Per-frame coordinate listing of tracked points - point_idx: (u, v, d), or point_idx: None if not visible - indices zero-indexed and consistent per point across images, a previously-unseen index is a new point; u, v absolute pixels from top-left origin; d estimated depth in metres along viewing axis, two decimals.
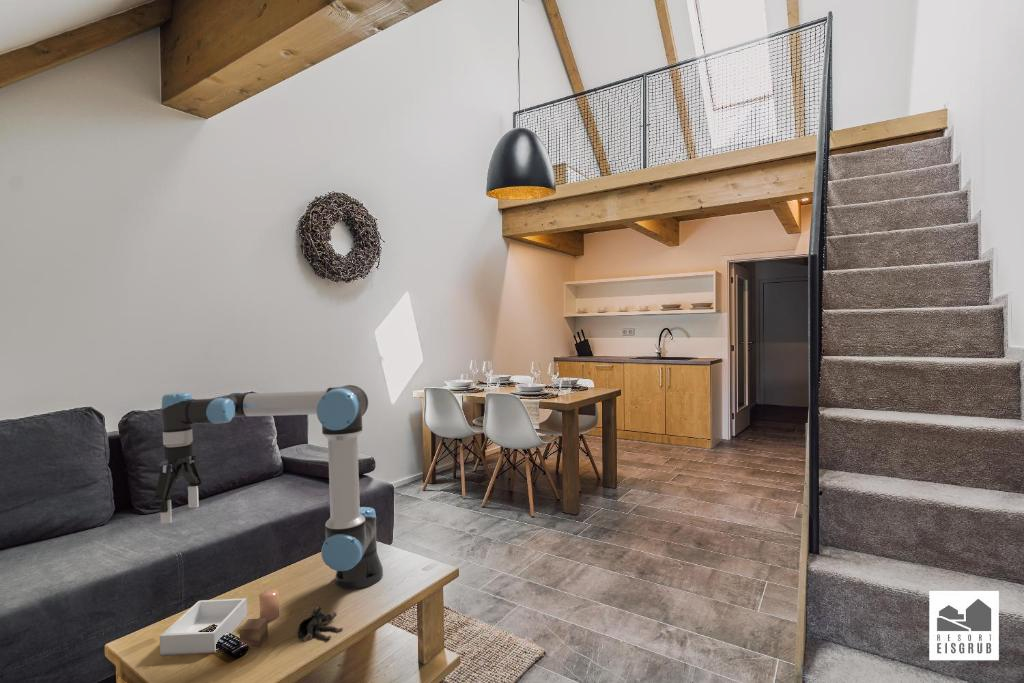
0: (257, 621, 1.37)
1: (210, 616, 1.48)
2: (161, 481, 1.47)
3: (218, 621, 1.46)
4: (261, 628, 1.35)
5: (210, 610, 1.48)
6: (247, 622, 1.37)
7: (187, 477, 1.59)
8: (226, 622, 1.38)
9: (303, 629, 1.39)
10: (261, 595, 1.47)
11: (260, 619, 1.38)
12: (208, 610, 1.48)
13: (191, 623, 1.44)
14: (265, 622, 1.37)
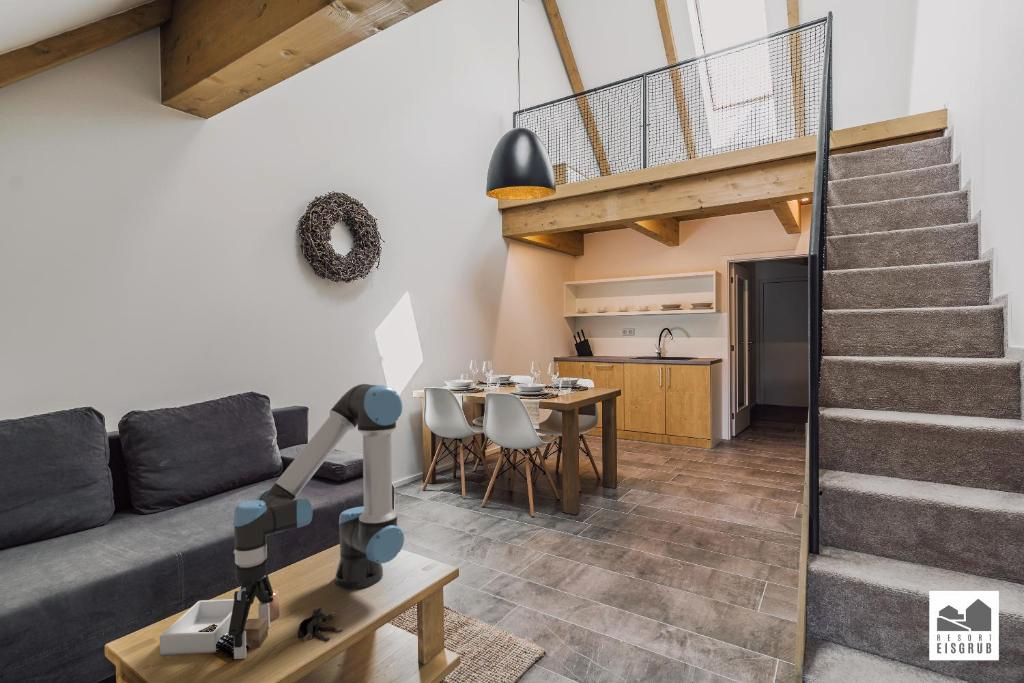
0: (257, 621, 1.37)
1: (210, 616, 1.48)
2: (236, 611, 1.28)
3: (218, 621, 1.46)
4: (261, 628, 1.35)
5: (210, 610, 1.48)
6: (246, 622, 1.37)
7: (259, 595, 1.40)
8: (226, 622, 1.38)
9: (303, 629, 1.39)
10: None
11: (260, 619, 1.38)
12: (208, 610, 1.48)
13: (191, 623, 1.44)
14: (265, 622, 1.37)
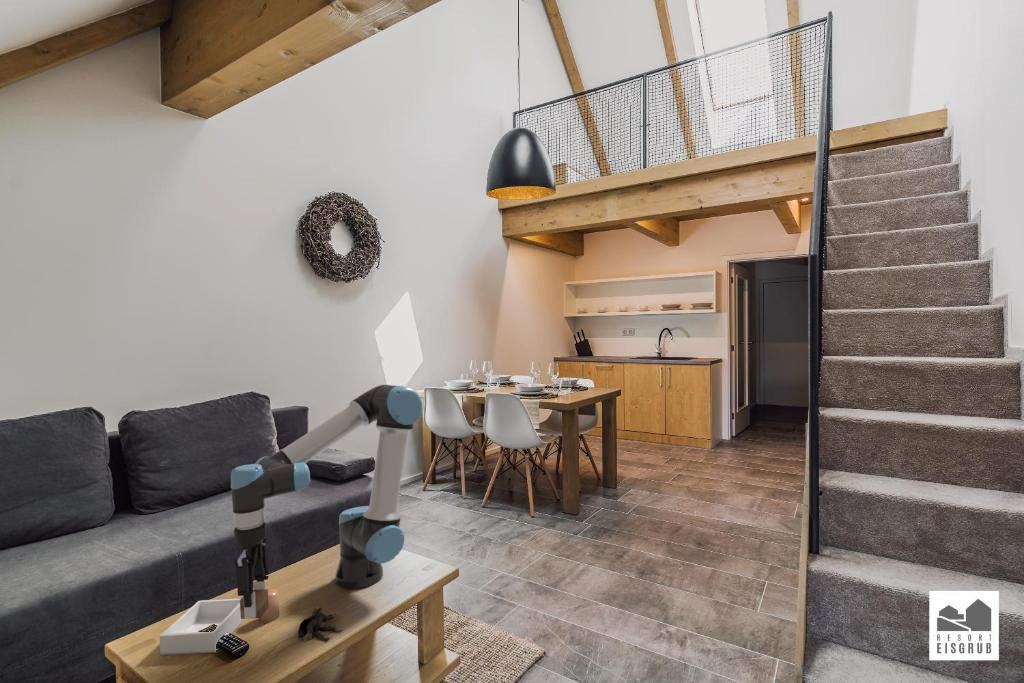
0: (258, 592, 1.37)
1: (210, 616, 1.48)
2: (240, 576, 1.30)
3: (218, 621, 1.46)
4: (261, 598, 1.35)
5: (210, 610, 1.48)
6: None
7: (256, 565, 1.38)
8: (226, 622, 1.38)
9: (303, 628, 1.39)
10: None
11: (261, 590, 1.38)
12: (208, 610, 1.48)
13: (191, 623, 1.44)
14: (265, 593, 1.38)
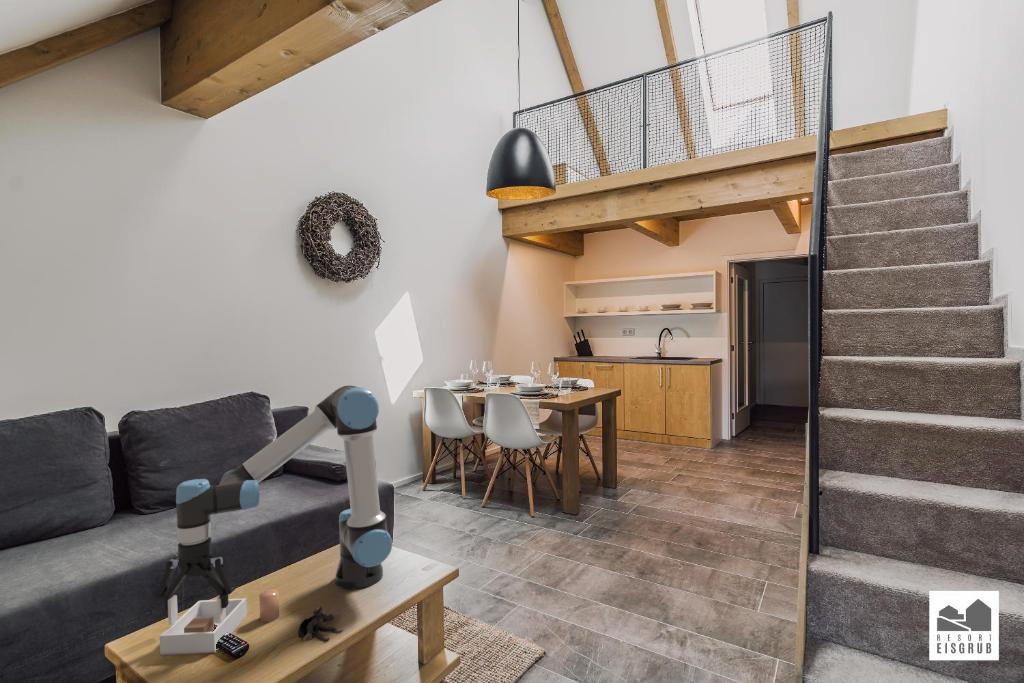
0: (202, 623, 1.36)
1: (210, 616, 1.48)
2: None
3: None
4: (189, 630, 1.34)
5: (210, 610, 1.48)
6: (206, 617, 1.39)
7: None
8: (226, 622, 1.38)
9: (304, 628, 1.39)
10: (261, 595, 1.47)
11: (203, 623, 1.35)
12: (208, 610, 1.48)
13: None
14: (199, 629, 1.34)
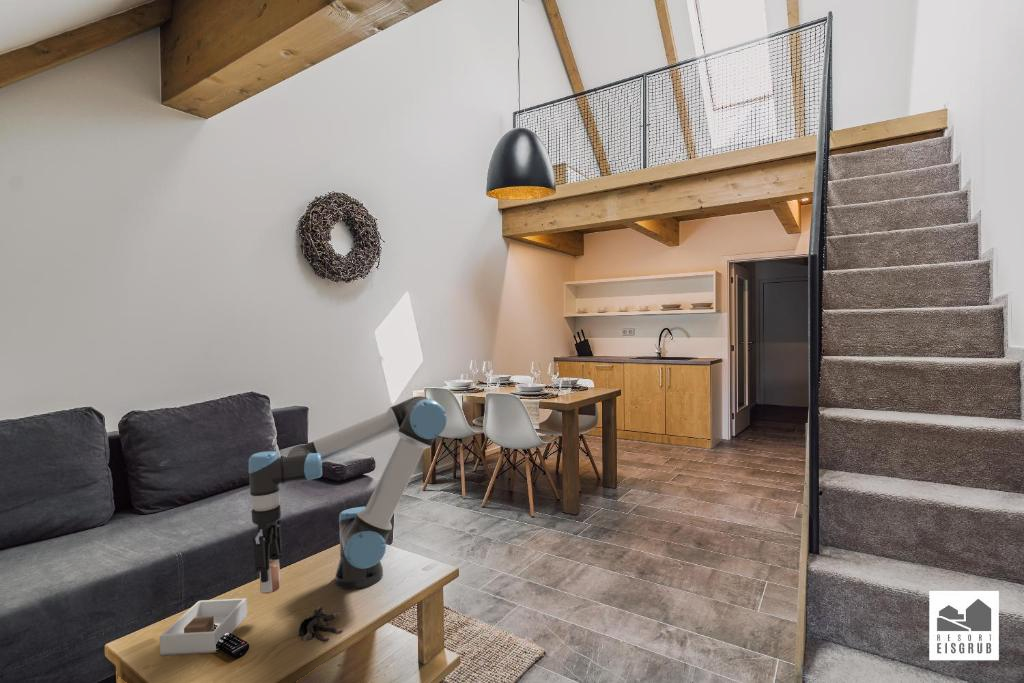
0: (202, 623, 1.36)
1: (210, 616, 1.48)
2: (257, 553, 1.42)
3: (218, 621, 1.46)
4: (189, 630, 1.34)
5: (210, 610, 1.48)
6: (206, 617, 1.39)
7: (271, 545, 1.50)
8: (226, 622, 1.38)
9: (304, 628, 1.39)
10: None
11: (203, 623, 1.35)
12: (208, 610, 1.48)
13: None
14: (199, 629, 1.34)
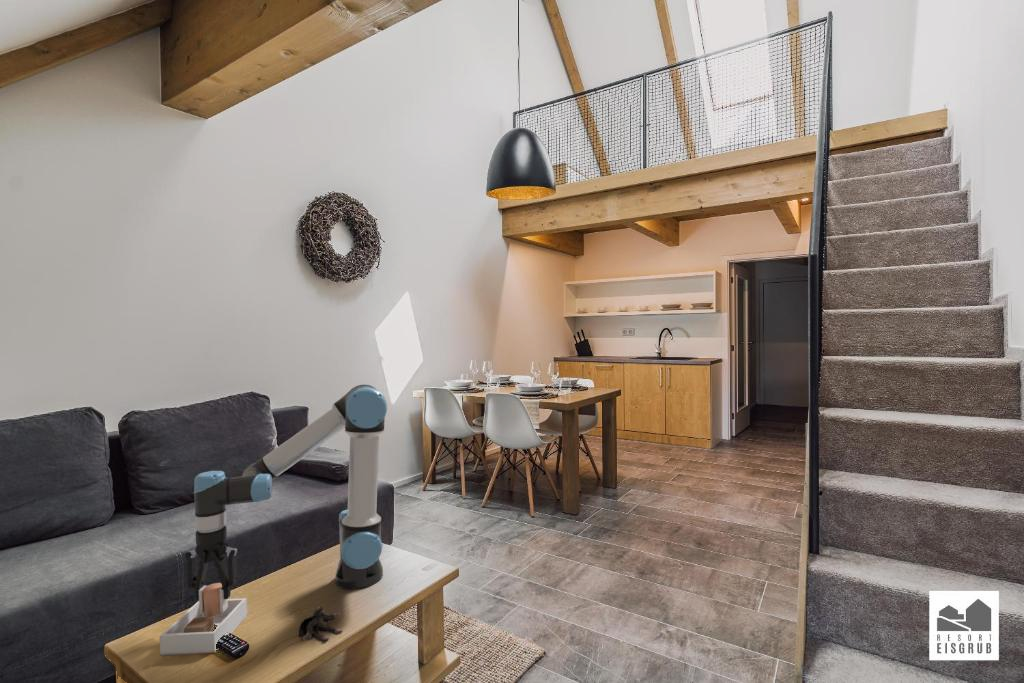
0: (202, 623, 1.36)
1: None
2: None
3: (218, 621, 1.46)
4: (189, 630, 1.34)
5: None
6: (206, 617, 1.39)
7: None
8: (226, 622, 1.38)
9: (304, 628, 1.39)
10: (213, 584, 1.46)
11: (203, 623, 1.35)
12: None
13: None
14: (199, 629, 1.34)
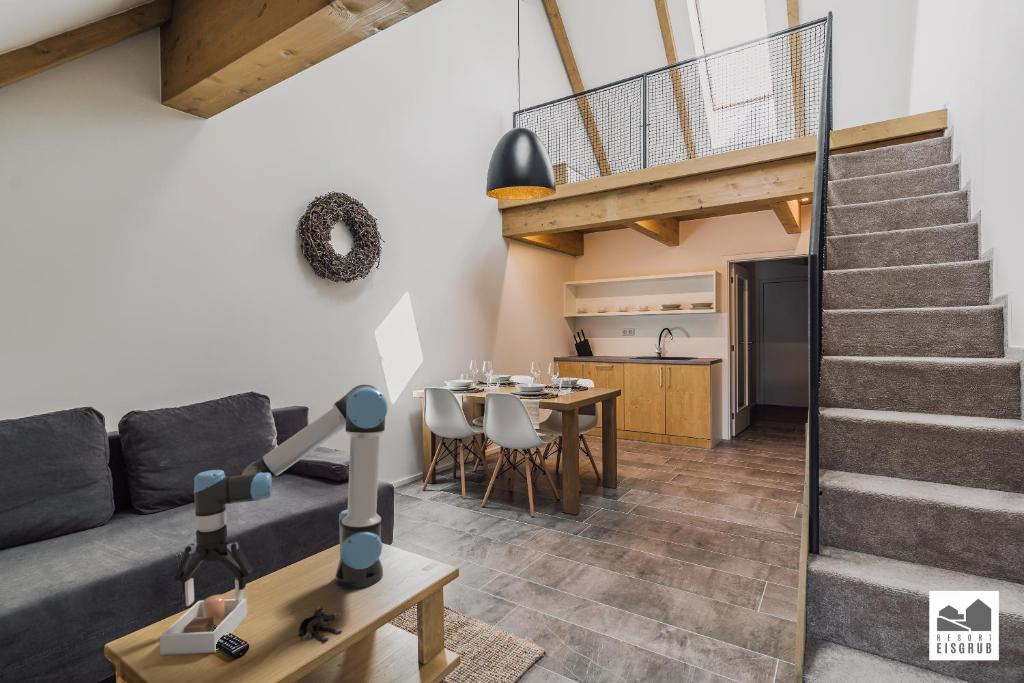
0: (202, 623, 1.36)
1: None
2: None
3: None
4: (189, 630, 1.34)
5: None
6: (206, 617, 1.39)
7: None
8: (226, 622, 1.38)
9: (304, 627, 1.40)
10: (213, 596, 1.46)
11: (203, 623, 1.35)
12: None
13: None
14: (199, 629, 1.34)
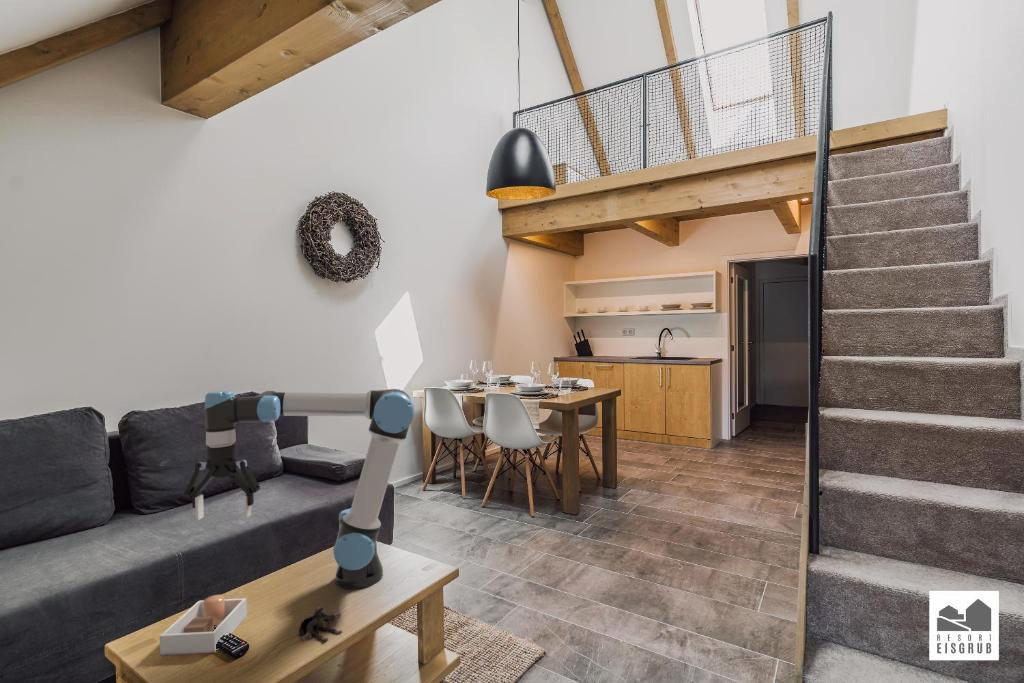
0: (202, 623, 1.36)
1: None
2: None
3: None
4: (189, 630, 1.34)
5: None
6: (206, 617, 1.39)
7: None
8: (226, 622, 1.38)
9: (305, 627, 1.40)
10: (213, 596, 1.46)
11: (203, 623, 1.35)
12: None
13: None
14: (199, 629, 1.34)
